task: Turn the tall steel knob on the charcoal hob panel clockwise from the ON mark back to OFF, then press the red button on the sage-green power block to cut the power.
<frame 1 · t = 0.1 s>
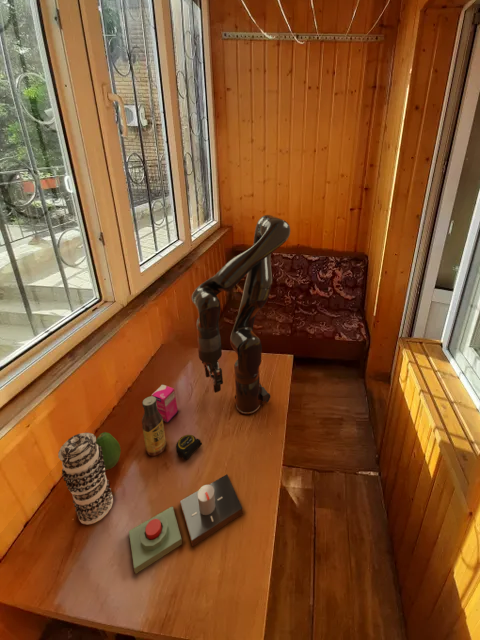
hand: (213, 383, 109), 17 cm above the table, tool pointing down, fingers open, 8 cm apart
tape measure: (189, 451, 103), on the table
hob panel: (211, 510, 87), on the table
sauce bottle: (156, 448, 104), on the table
avocado: (109, 465, 98), on the table
power block: (156, 540, 80), on the table
stove knob: (206, 499, 84), point 5 cm above the table, hinge at 90.0°
supplement box: (167, 415, 117), on the table
decorative candle: (96, 507, 87), on the table
power button: (153, 529, 78), point 4 cm above the table, slide at 0.1 cm
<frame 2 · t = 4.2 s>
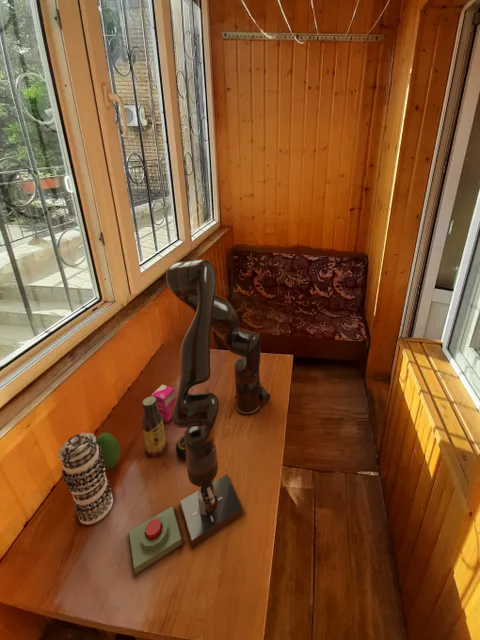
hand: (207, 503, 85), 4 cm above the table, tool pointing down, fingers closed on stove knob, 4 cm apart
stove knob: (206, 499, 84), point 5 cm above the table, hinge at 90.0°, touching gripper
everything else where it was.
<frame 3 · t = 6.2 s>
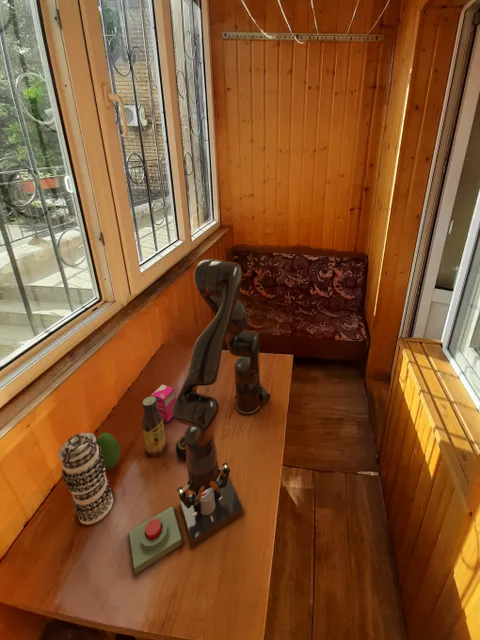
hand: (207, 504, 85), 4 cm above the table, tool pointing down, fingers closed on stove knob, 4 cm apart
stove knob: (206, 499, 84), point 5 cm above the table, hinge at -3.6°, touching gripper
everything else where it was.
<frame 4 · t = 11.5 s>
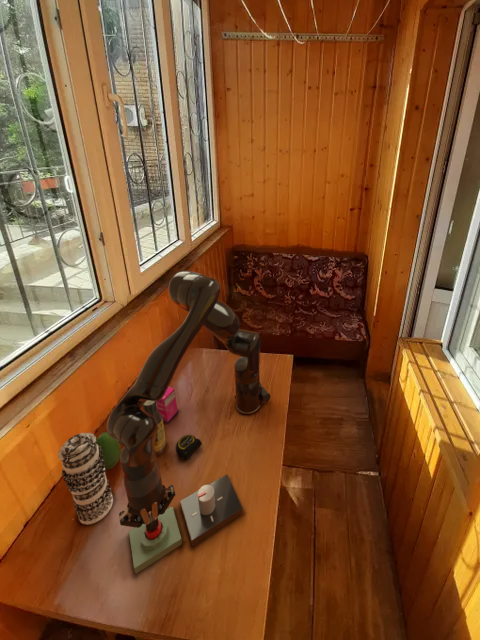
hand: (153, 527, 78), 5 cm above the table, tool pointing down, fingers closed
stove knob: (206, 499, 84), point 5 cm above the table, hinge at -2.8°
power button: (153, 529, 78), point 4 cm above the table, slide at 0.1 cm, touching gripper
everything else where it was.
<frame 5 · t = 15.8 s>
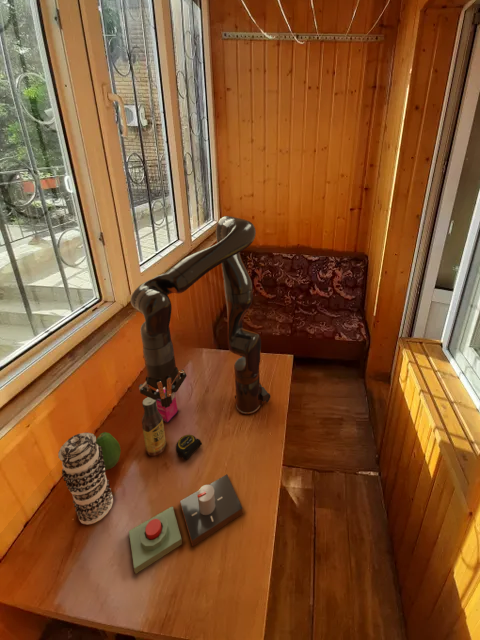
hand: (167, 405, 90), 25 cm above the table, tool pointing down, fingers closed
power button: (153, 529, 78), point 4 cm above the table, slide at 0.1 cm
everything else where it was.
at the end: stove knob at -3° (first picture: +90°); power button pushed in 1.1 cm at the most during the clip, back to where it started at the end; power button slide at 0.1 cm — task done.
